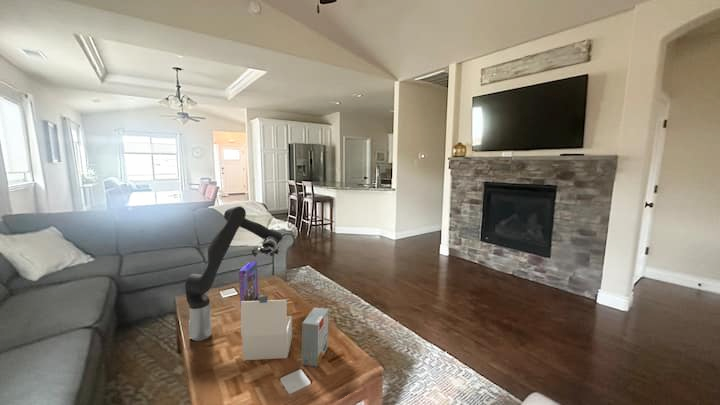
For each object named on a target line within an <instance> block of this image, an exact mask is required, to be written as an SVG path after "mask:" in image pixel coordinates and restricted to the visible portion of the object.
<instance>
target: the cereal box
mask: <svg viewBox="0 0 720 405" xmlns="http://www.w3.org/2000/svg"><path fill="white" fill-rule="evenodd" d="M238 281H239V285H238V286H239V301H240V302H239V305H240V308H241V301H256V299H257V298H258V295H259V283H258V282H259V278H258V262H257V261H253V260H252V261H249V262H248V263H246V265H244V266H243V267H242V268H241V269H239V270H238Z"/></svg>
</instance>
